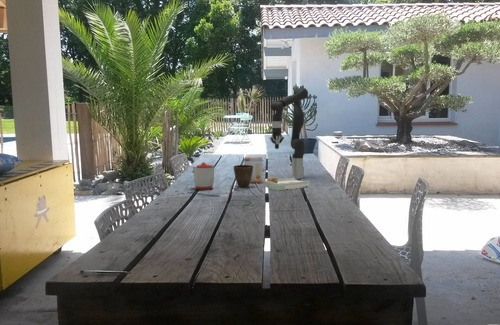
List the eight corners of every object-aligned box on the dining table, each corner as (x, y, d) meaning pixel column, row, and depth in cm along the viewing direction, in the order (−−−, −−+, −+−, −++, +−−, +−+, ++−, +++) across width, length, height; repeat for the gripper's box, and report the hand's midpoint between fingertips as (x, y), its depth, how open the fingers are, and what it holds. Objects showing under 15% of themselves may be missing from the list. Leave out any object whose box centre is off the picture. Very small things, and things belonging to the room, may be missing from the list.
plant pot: (251, 189, 359) (251, 167, 357) (231, 188, 362) (231, 167, 360) (254, 185, 373) (254, 165, 371) (236, 185, 376) (235, 164, 374)
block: (273, 182, 370) (273, 177, 370) (277, 183, 366) (277, 178, 366) (267, 182, 368) (267, 177, 367) (270, 183, 363) (270, 178, 363)
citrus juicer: (197, 186, 372) (196, 160, 370) (217, 187, 366) (217, 161, 364) (187, 189, 357) (187, 162, 355) (209, 191, 352) (209, 163, 349)
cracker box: (262, 182, 390) (262, 156, 388) (261, 183, 384) (261, 157, 382) (245, 181, 392) (245, 156, 389) (244, 183, 386) (244, 157, 383)
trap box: (294, 183, 383) (294, 177, 383) (309, 187, 366) (309, 181, 366) (264, 186, 370) (264, 180, 369) (278, 190, 352) (278, 184, 352)
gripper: (281, 126, 390) (281, 148, 392) (267, 127, 384) (267, 148, 386) (286, 127, 384) (286, 148, 386) (272, 127, 377) (272, 149, 379)
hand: (276, 148), depth 386 cm, fingers closed
